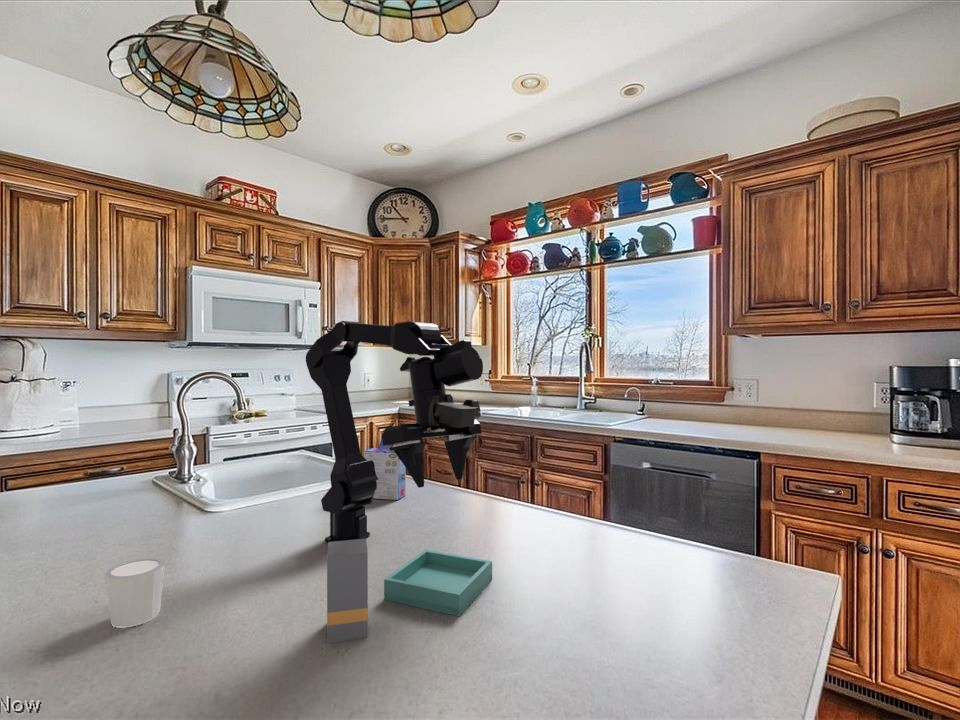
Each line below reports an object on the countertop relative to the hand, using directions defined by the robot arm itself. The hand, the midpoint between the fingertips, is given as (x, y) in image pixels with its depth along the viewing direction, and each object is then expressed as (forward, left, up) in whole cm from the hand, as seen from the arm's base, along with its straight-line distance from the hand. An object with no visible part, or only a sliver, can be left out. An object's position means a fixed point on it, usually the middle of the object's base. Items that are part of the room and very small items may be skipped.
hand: (441, 483), depth 84 cm
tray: (+3, -6, -15) cm, 16 cm away
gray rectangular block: (-3, -21, -15) cm, 26 cm away
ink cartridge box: (-34, +34, -15) cm, 51 cm away
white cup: (-32, -30, -15) cm, 46 cm away
